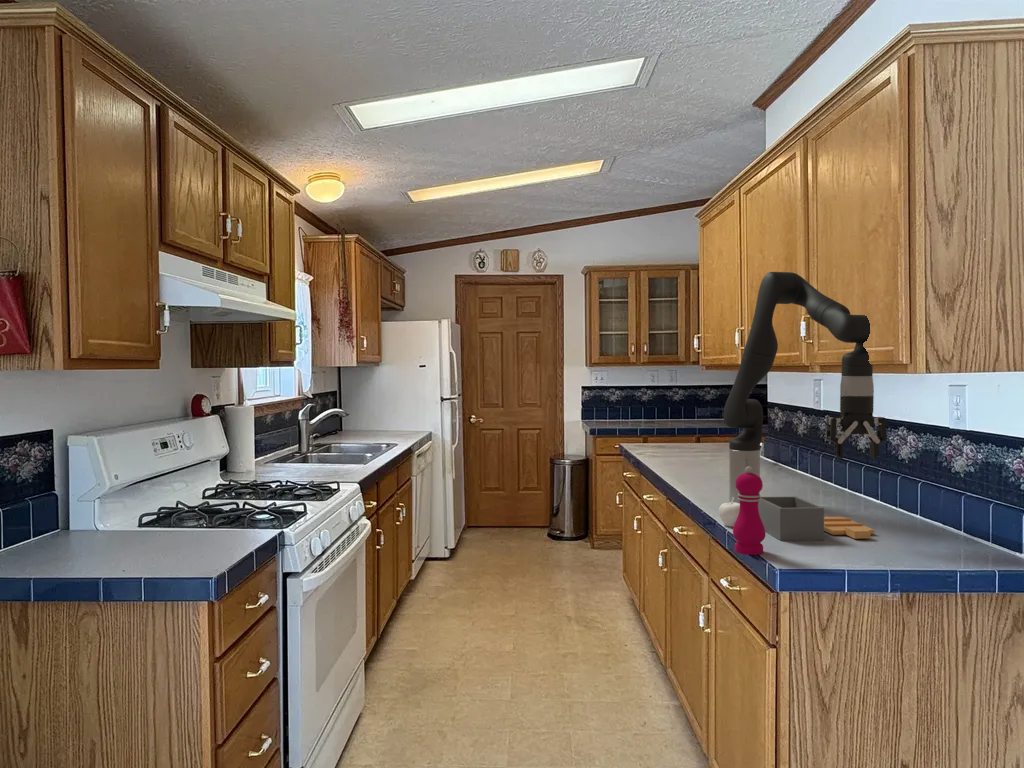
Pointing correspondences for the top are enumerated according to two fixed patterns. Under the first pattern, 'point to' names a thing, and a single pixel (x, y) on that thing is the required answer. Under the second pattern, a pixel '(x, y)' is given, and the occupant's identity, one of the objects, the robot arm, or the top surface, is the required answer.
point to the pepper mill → (749, 515)
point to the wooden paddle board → (846, 527)
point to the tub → (791, 518)
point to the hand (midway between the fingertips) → (856, 458)
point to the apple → (729, 513)
